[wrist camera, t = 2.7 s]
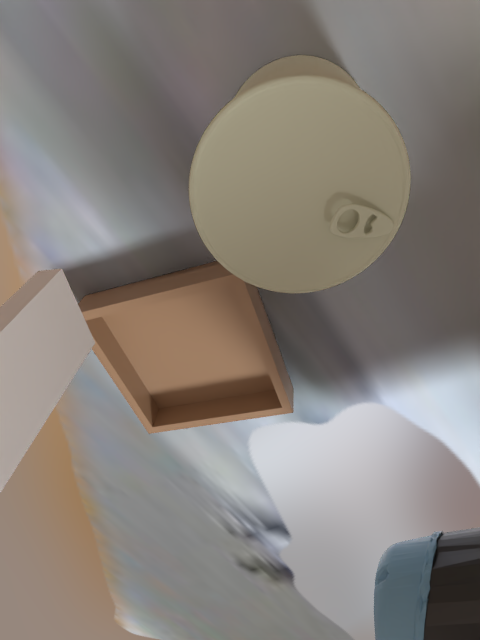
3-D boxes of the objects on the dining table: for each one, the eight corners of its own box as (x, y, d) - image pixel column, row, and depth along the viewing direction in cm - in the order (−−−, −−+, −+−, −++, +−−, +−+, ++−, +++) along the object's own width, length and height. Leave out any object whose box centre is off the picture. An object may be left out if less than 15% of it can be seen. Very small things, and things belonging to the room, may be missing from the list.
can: (337, 224, 29) (358, 321, 20) (212, 190, 29) (170, 272, 19) (396, 79, 24) (464, 114, 14) (243, 35, 24) (206, 40, 14)
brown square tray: (244, 253, 31) (240, 272, 29) (293, 388, 39) (293, 412, 37) (84, 295, 35) (69, 315, 33) (157, 410, 43) (148, 433, 41)
